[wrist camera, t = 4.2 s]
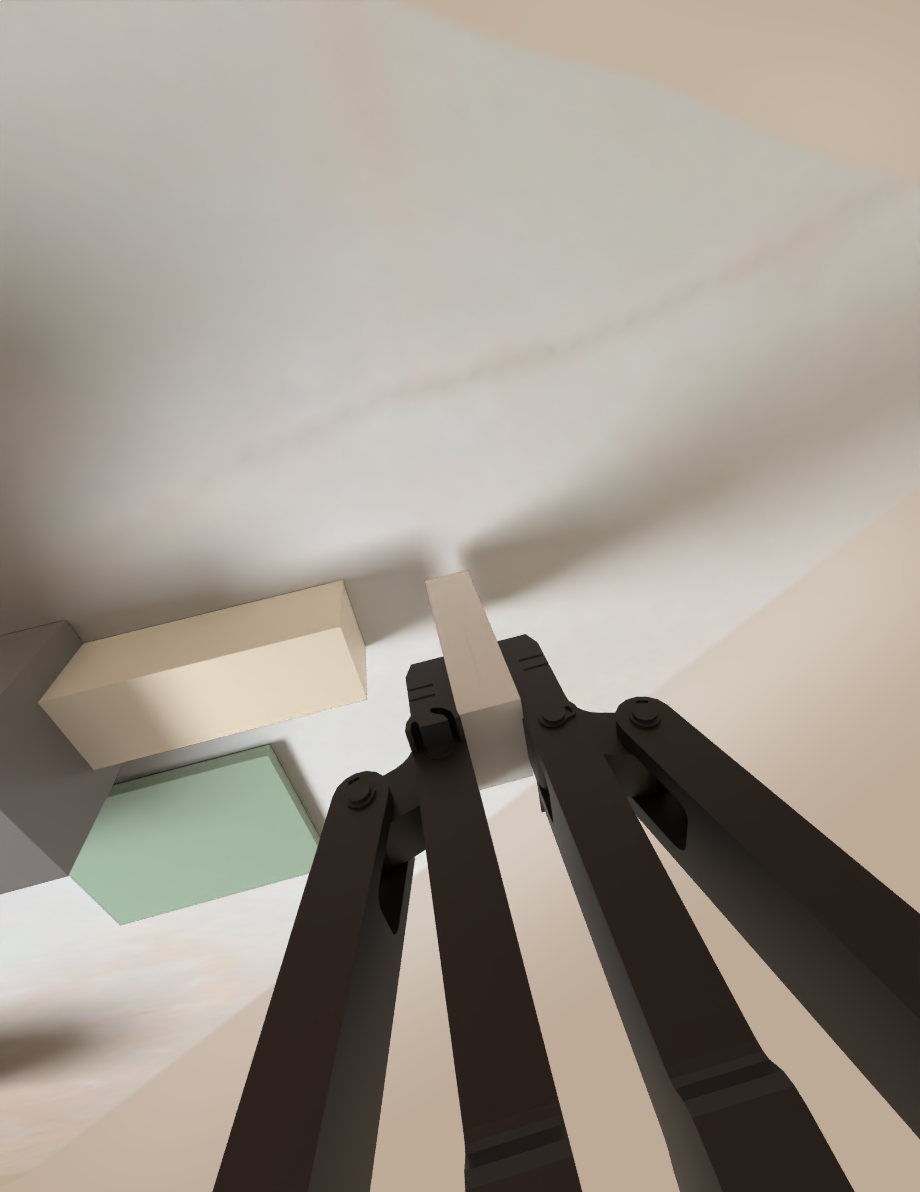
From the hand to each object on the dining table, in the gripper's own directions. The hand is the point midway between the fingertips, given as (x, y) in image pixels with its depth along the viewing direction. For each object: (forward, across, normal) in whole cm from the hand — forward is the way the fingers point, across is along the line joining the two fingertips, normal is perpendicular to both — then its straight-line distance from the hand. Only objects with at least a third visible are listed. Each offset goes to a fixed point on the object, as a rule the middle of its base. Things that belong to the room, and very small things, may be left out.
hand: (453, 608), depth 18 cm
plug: (+1, -11, 0) cm, 11 cm away
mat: (+1, -14, -9) cm, 16 cm away
